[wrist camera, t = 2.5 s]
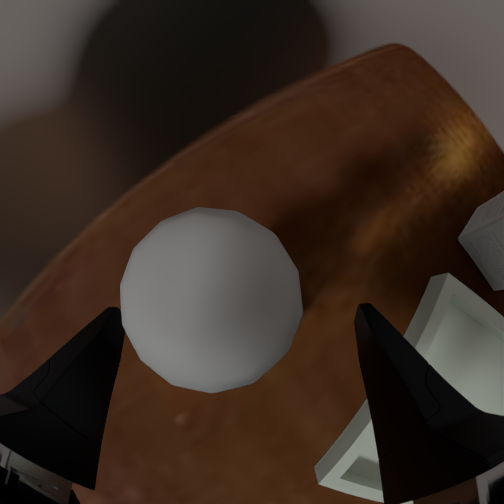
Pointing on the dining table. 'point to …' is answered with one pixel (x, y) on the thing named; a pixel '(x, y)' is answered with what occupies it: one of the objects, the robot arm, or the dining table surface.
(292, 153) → the dining table surface
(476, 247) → the skincare box
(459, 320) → the tray
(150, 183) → the dining table surface
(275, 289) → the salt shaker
